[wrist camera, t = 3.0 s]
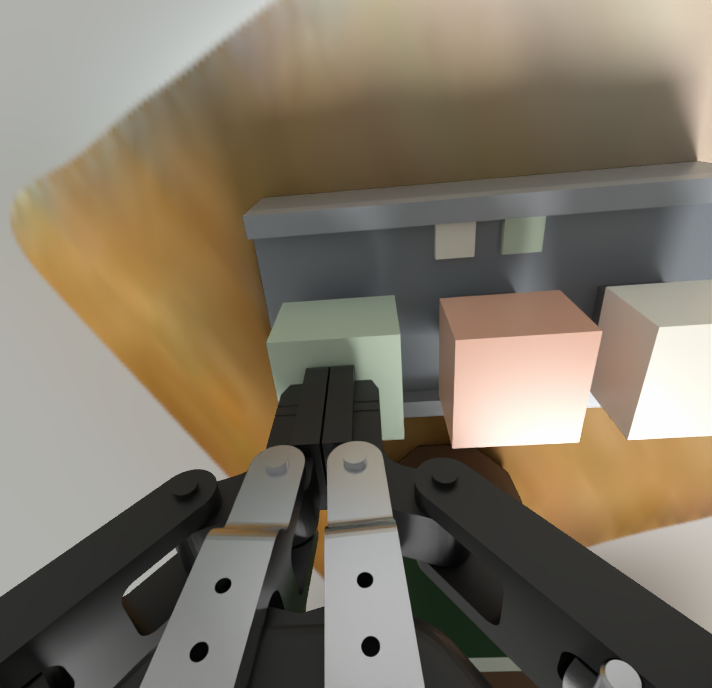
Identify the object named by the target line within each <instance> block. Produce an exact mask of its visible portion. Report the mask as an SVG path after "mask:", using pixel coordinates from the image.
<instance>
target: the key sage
mask: <svg viewBox="0 0 712 688" xmlns="http://www.w3.org/2000/svg"><path fill="white" fill-rule="evenodd" d="M266 346H267V350H268V355H269V360H270V365H271V369H272V374H273V379H274V384H275V388H276V393H277V398H278V403H279V400H280V396H281V394H282V393H283V392H284V391H285V390H286V389H287V388H288V387H289V386H290V385H293V384H303V380H304V375H305V370H306V368H313V367H330V369H331V366H343V365H354V367H355V377H356V380H372V381H373V382H374V383H375V385H376V386H377V387H378V388H379V398H380V413H381V428H382V440H398V439H404V414H403V388H402V363H401V337H400V329H399V322H398V315H397V309H396V302H395V295H387V296H373V297H359V298H345V299H330V300H316V301H302V302H288V303H283V304H282V306H281V308H280V311H279V313H278V316H277V318H276V320H275V323H274V325H273V328H272V330H271V332H270V335H269V337H268V340H267V342H266Z"/></svg>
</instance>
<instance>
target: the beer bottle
mask: <svg viewBox="0 0 712 688" xmlns="http://www.w3.org/2000/svg"><path fill="white" fill-rule="evenodd" d="M440 457H442V458H451V459H455V460H457V461H460V462H462V463H463V464H465V465H466V466H468V467H469V468H471V469H472V470H474V471H475V472H477V473H478V474H480V475H481V476H482V477H484V478H485V479H487V480H488V481H490V482H491V483H493V484H494V485H496V486H497V487H498V488H500V489H501V490H503V491H504V492H506V493H507V494H509V495H510V496H512V497H513V498H514V499H516V500H517V501H519V502H520V503H522V501H521V499H520V496H519V494H518V492H517V490H516V488H515V486H514V484H513V481H512V479H511V477H510V475H509V473H508V472H507V471H506V470H505V469H503V468H502V467H501V466H499V465H498V464H497V463H495V462H494V461H492V460H491V459H490V458H488V457H487V456H486V455H484V454H483V453H482V452H480V451H479V450H478V449H476V448H455V449H452V445H451V444H449V445H428V446H418V447H417V448H416V449H415V450H413V451H412V452H411V453H410V454H408V455H407V456H406V457H405V458H403V459H402V460H401V461H400V462H399V463H397V464H400V465H402V466H406V467H411V468H415V469H417V468H418V467H419V466H420V465H421V464H422V463H423V462H425V461H427V460H430V459H433V458H440ZM402 559H403V565H404V570H405V576H406V582H407V588H408V594H409V599H410V605H411V611H412V616H414V617H416V618H419V619H421V620H423V621H425V622H427V623H429V624H431V625H433V626H434V627H436V628H437V629H438V630H440V631H441V632H443V633H444V634H445V635H446V636H447V637H449V638H450V639H451V640H452V641H453V642H454V643H455V644H456V645H457V646H458V647H459V648H460V649H461V651H462V652H463V653H464V654H465V655H466V656H467V657H468V659H469V660H470V661H471V662H472V663H473V664H474V666H475V667H476V668H477V669H478V670H479V671H480V673H481V674H482V675H483V676H484V677H485V678H486V680H487V681H488V682H489V683H490V684H491V685H492V686H493V688H539V687H538V686H537V685H536V684H535V683H534V682H533V681H532V680H531V679H530V678H529V677H528V676H527V675H526V674H525V673H524V672H523V671H522V670H521V669H520V668H519V667H518V666H517V665H516V664H515V663H514V662H513V661H512V660H511V659H510V658H509V657H508V656H507V655H506V654H505V653H504V652H503V651H502V650H501V649H500V648H499V647H498V646H497V645H496V644H495V643H494V642H493V641H492V640H491V639H490V638H489V637H488V636H487V635H486V634H485V633H484V632H483V631H482V630H481V629H480V628H479V627H478V626H477V625H476V624H475V623H474V622H473V621H472V620H471V619H470V618H469V617H468V616H467V615H466V614H465V613H464V612H463V611H462V610H461V609H460V608H459V607H458V606H457V605H456V604H455V603H454V602H453V601H452V600H451V599H450V598H449V597H448V596H447V595H446V594H445V593H444V592H443V591H442V590H441V589H440V588H439V587H438V586H437V585H436V584H435V583H434V582H433V581H432V580H431V579H430V578H429V577H428V576H427V575H426V574H425V573H424V572H423V571H422V570H421V569H420V567H419V565H418V563H417V560H415V559H412V558H408V557H404V556H402Z"/></svg>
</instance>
